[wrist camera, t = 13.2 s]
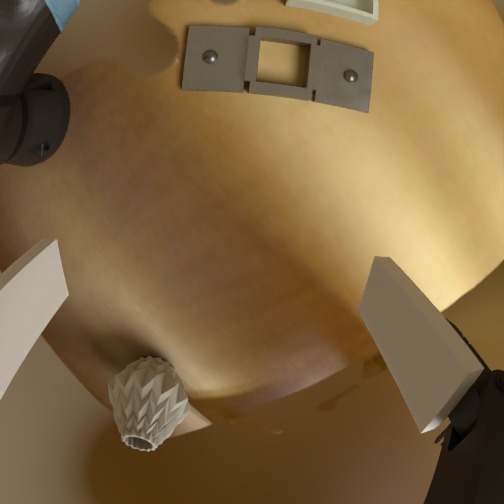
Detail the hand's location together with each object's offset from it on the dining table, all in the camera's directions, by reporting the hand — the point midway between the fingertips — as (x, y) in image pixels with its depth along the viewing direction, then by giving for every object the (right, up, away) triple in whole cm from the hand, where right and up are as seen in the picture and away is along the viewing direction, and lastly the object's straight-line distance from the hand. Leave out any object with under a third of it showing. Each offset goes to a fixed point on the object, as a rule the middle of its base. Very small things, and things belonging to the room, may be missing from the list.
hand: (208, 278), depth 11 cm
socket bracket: (+6, +26, +22) cm, 35 cm away
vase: (-19, -23, +44) cm, 53 cm away
